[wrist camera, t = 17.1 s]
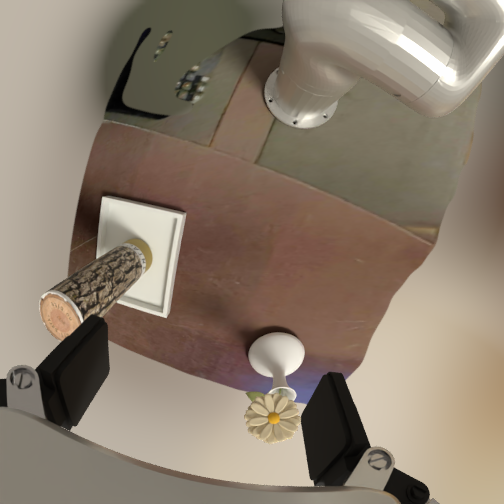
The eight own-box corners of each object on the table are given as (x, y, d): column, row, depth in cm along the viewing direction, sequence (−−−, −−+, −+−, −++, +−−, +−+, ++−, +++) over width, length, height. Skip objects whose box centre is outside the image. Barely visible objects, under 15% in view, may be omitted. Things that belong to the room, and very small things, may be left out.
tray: (108, 195, 46) (102, 196, 43) (186, 212, 47) (183, 215, 44) (100, 290, 51) (95, 294, 49) (169, 311, 52) (166, 317, 50)
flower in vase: (314, 345, 54) (343, 440, 30) (278, 378, 57) (288, 472, 32) (266, 313, 52) (273, 411, 28) (231, 350, 54) (219, 448, 30)
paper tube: (140, 279, 50) (70, 354, 26) (115, 254, 48) (33, 313, 24) (160, 255, 48) (91, 325, 24) (135, 230, 47) (49, 279, 23)
